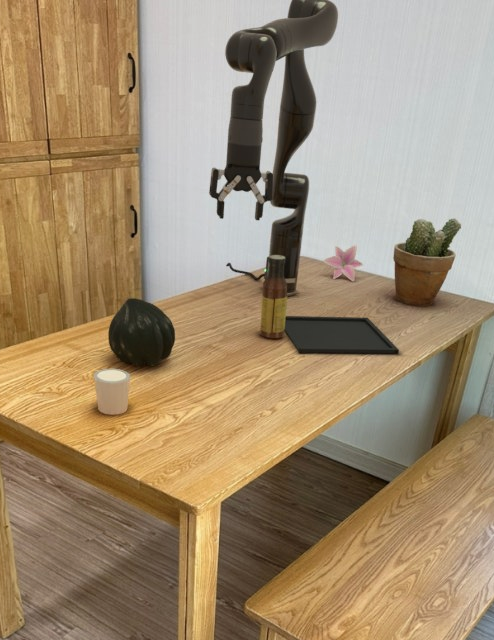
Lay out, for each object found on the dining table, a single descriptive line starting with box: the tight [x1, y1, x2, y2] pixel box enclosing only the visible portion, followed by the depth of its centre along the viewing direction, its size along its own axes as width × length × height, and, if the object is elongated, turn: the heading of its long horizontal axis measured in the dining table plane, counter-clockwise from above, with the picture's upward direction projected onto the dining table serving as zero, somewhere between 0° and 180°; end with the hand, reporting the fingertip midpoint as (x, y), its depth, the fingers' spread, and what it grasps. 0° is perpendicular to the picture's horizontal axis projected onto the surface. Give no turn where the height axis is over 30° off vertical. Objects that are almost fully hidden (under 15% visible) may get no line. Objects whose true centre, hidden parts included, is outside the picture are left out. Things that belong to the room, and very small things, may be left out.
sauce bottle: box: [260, 255, 288, 340], centre depth 174 cm, size 6×6×20 cm
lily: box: [323, 244, 364, 282], centre depth 232 cm, size 12×12×10 cm
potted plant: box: [392, 218, 462, 307], centre depth 211 cm, size 18×19×25 cm
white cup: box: [93, 368, 131, 416], centre depth 135 cm, size 7×7×7 cm
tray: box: [284, 315, 400, 355], centre depth 183 cm, size 26×24×1 cm
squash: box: [107, 297, 176, 367], centre depth 155 cm, size 14×15×15 cm
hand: (239, 218), depth 162 cm, fingers open, 8 cm apart
